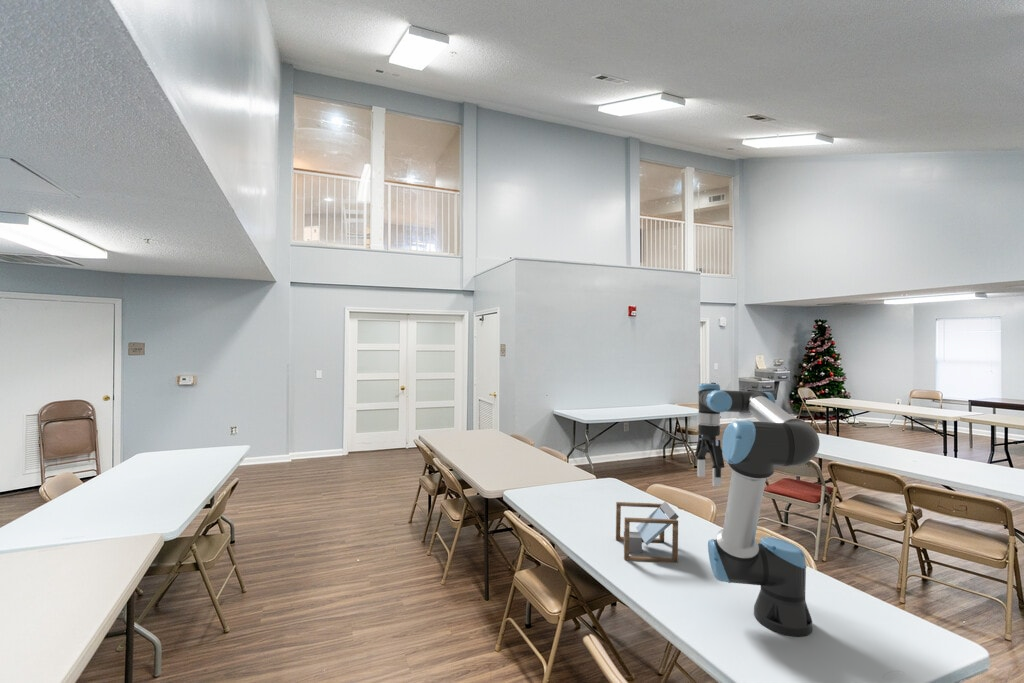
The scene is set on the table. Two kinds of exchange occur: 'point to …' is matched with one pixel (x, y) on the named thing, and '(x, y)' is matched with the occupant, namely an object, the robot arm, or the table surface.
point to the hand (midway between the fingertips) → (708, 481)
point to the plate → (654, 529)
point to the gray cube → (635, 542)
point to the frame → (626, 539)
